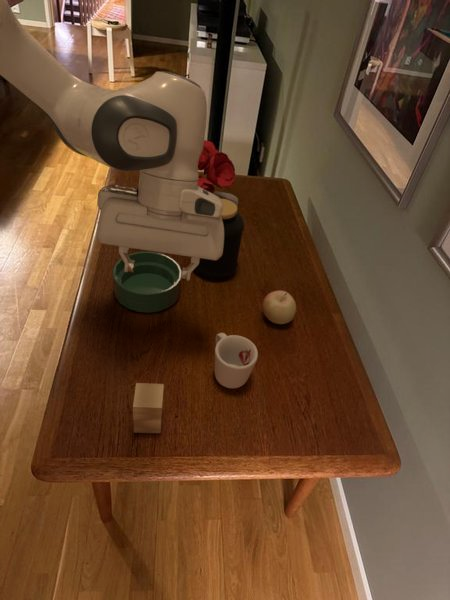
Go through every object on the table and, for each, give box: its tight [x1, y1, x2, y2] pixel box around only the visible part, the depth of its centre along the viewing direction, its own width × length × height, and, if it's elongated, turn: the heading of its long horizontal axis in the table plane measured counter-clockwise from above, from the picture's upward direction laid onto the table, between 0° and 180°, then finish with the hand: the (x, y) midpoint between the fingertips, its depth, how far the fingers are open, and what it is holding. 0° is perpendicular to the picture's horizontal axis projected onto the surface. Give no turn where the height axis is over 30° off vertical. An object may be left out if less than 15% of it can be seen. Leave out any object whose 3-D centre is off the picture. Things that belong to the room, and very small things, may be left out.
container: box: [194, 199, 245, 279], centre depth 97 cm, size 12×12×18 cm
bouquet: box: [197, 139, 239, 207], centre depth 113 cm, size 22×24×30 cm
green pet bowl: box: [112, 250, 182, 314], centre depth 91 cm, size 15×15×6 cm
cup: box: [214, 332, 259, 389], centre depth 77 cm, size 11×8×8 cm
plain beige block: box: [132, 382, 165, 434], centre depth 67 cm, size 4×4×8 cm
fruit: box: [261, 289, 297, 325], centre depth 90 cm, size 8×7×8 cm
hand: (157, 275), depth 68 cm, fingers open, 8 cm apart
